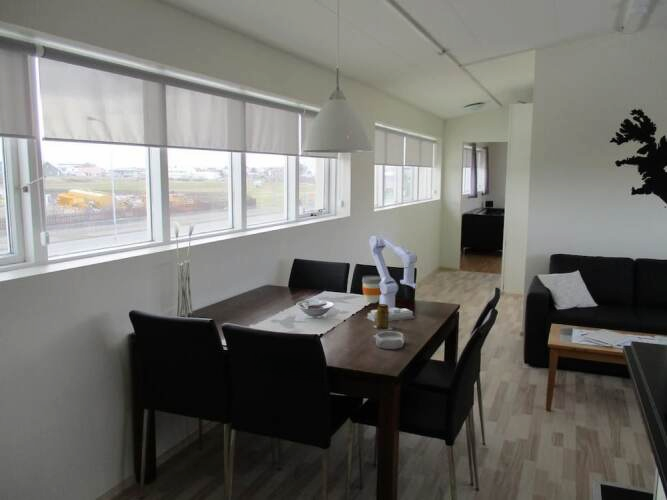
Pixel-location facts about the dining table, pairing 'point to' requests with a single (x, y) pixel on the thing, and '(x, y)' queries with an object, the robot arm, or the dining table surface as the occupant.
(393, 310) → the bluegrey key
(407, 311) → the ivory key
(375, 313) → the sage key
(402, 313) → the keypad
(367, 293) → the reusable coffee cup
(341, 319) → the dining table surface
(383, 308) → the condiment
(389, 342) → the dish
